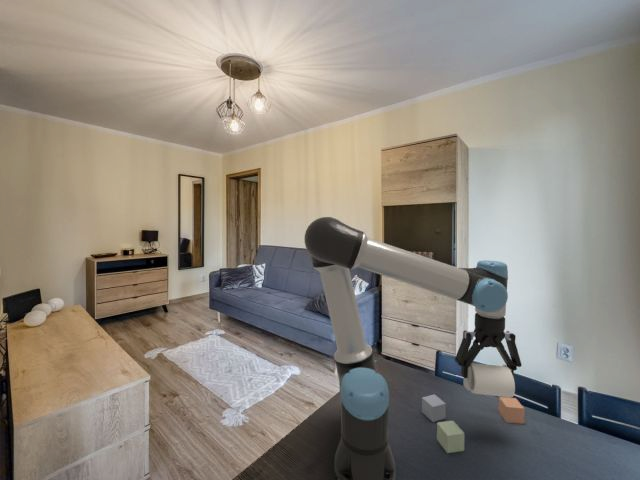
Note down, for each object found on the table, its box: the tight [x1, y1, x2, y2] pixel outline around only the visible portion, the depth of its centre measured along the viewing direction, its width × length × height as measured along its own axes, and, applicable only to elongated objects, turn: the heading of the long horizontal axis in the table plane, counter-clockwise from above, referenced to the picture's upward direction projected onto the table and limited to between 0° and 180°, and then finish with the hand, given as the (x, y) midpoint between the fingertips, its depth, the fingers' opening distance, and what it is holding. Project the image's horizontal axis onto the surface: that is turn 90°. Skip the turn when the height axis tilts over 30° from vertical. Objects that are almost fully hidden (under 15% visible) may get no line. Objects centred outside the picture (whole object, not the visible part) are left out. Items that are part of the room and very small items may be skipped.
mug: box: [469, 362, 516, 398], centre depth 82 cm, size 12×10×8 cm
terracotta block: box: [498, 396, 526, 425], centre depth 88 cm, size 5×5×5 cm
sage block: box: [436, 420, 465, 454], centre depth 78 cm, size 5×5×5 cm
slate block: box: [421, 394, 447, 423], centre depth 89 cm, size 5×5×5 cm
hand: (486, 388), depth 82 cm, fingers closed on mug, 11 cm apart
